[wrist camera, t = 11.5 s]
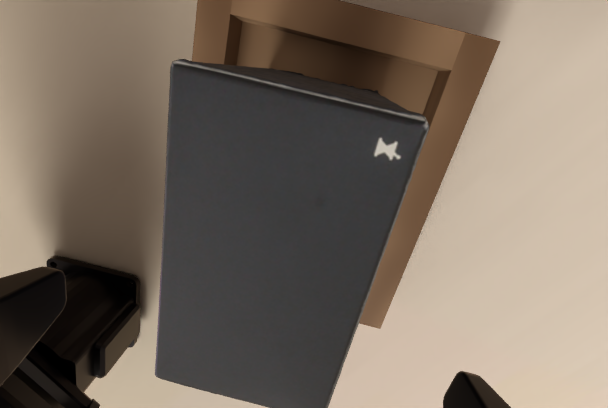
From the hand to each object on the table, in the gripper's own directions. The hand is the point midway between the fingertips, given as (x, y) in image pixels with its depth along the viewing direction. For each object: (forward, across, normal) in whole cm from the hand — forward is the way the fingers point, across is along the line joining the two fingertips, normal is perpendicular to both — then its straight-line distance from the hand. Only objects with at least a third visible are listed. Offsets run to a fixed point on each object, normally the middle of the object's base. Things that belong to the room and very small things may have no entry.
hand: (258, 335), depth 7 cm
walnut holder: (+13, 0, 0) cm, 13 cm away
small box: (+12, 0, 0) cm, 13 cm away
